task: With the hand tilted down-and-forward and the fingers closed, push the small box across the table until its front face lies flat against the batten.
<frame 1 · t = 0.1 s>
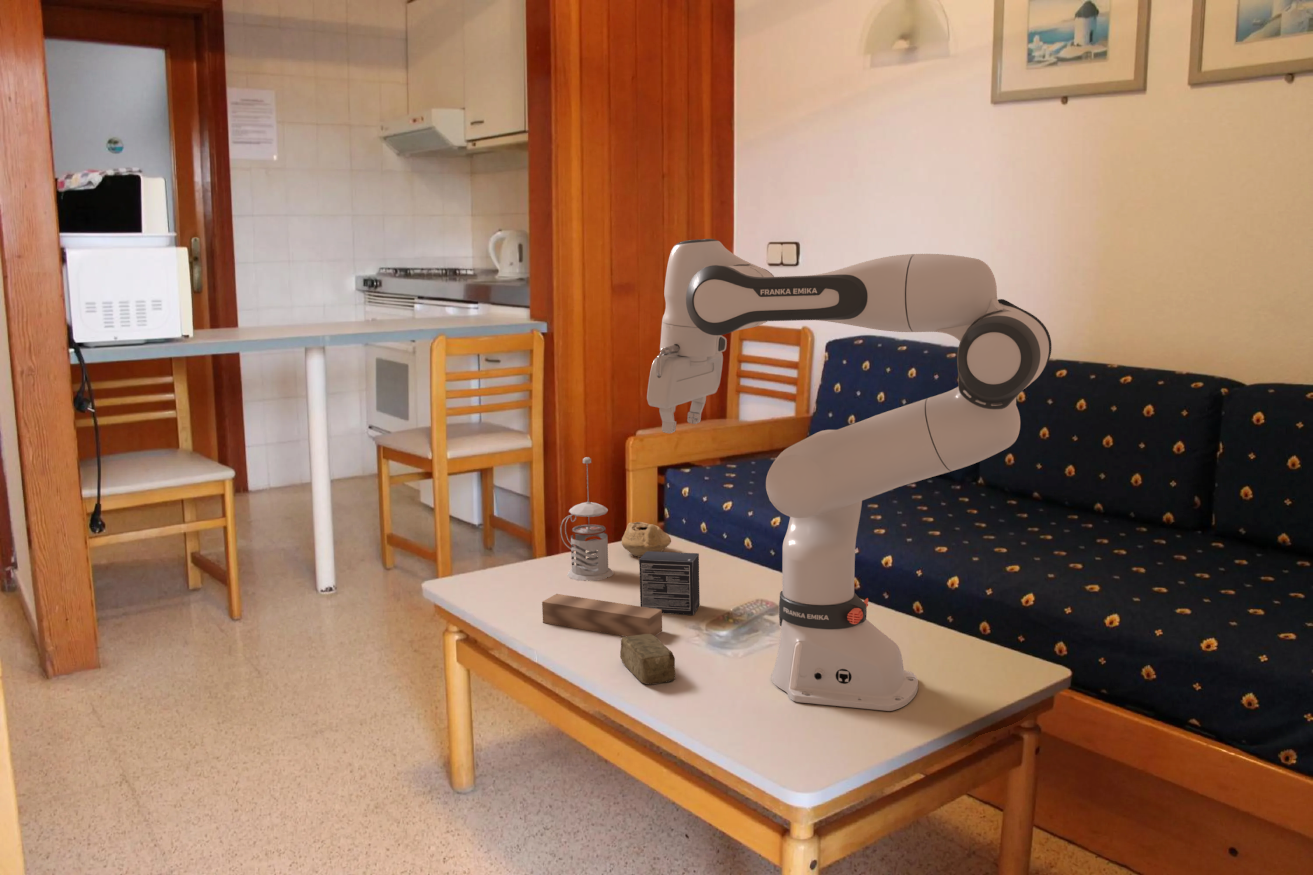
hand: (681, 427, 173), 39 cm above the table, tool pointing down, fingers open, 8 cm apart
french press: (586, 573, 227), on the table
oil lamp: (642, 553, 241), on the table
batten: (601, 626, 195), on the table
stone block: (647, 673, 174), on the table
small box: (670, 609, 204), on the table
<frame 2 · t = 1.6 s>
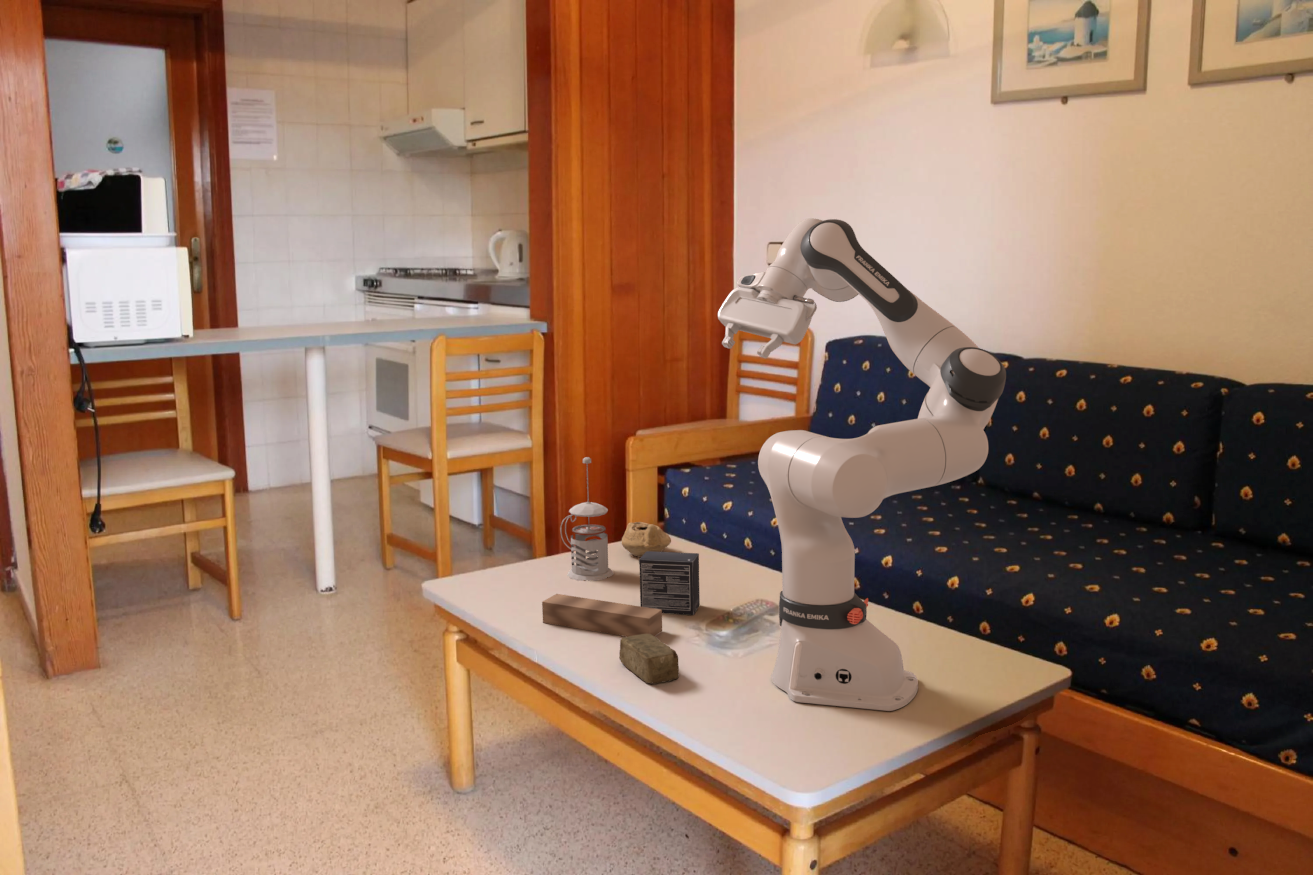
hand: (743, 351, 205), 48 cm above the table, tool tilted 40°, fingers open, 8 cm apart
nothing on the table moved.
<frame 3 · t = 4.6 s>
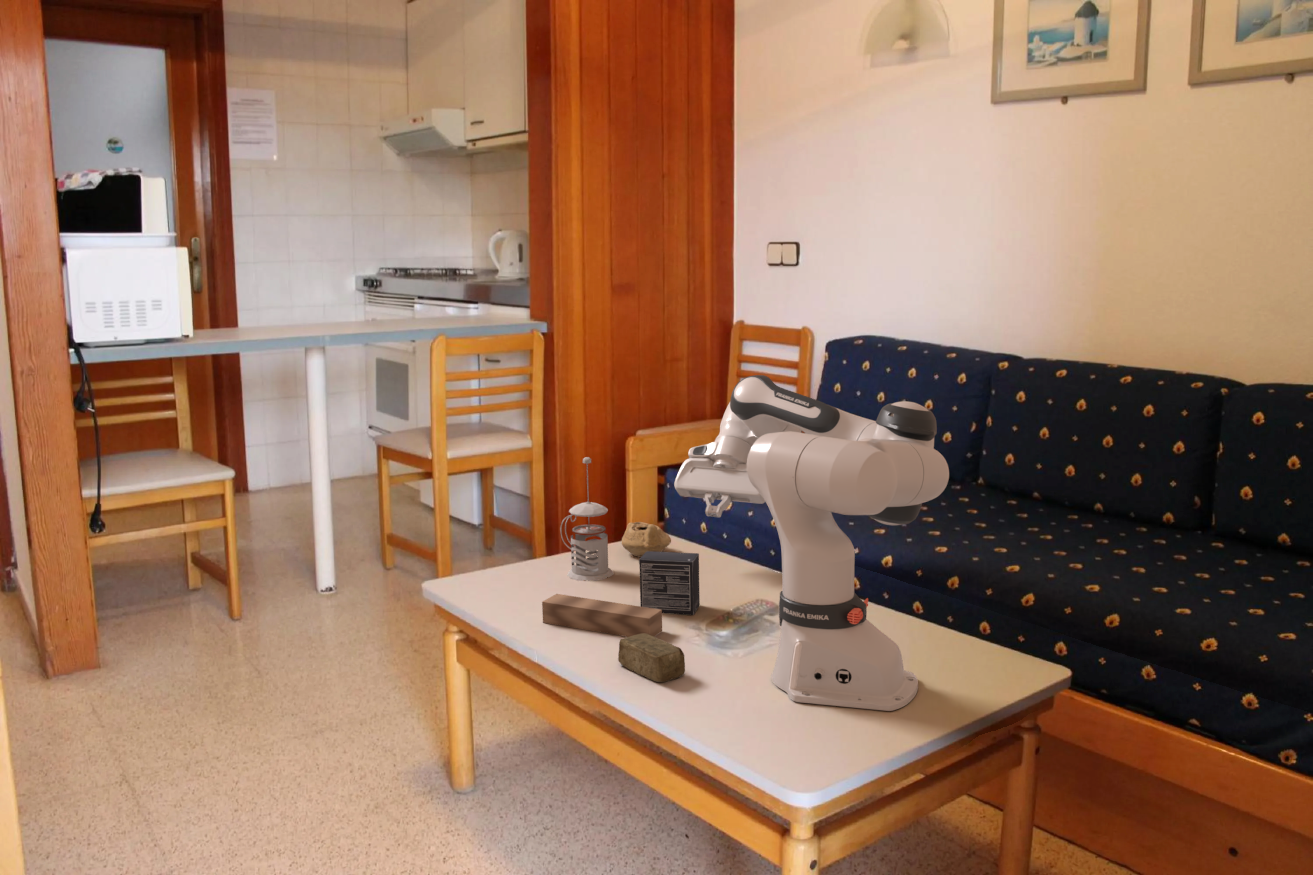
hand: (712, 515, 219), 13 cm above the table, tool tilted 45°, fingers closed
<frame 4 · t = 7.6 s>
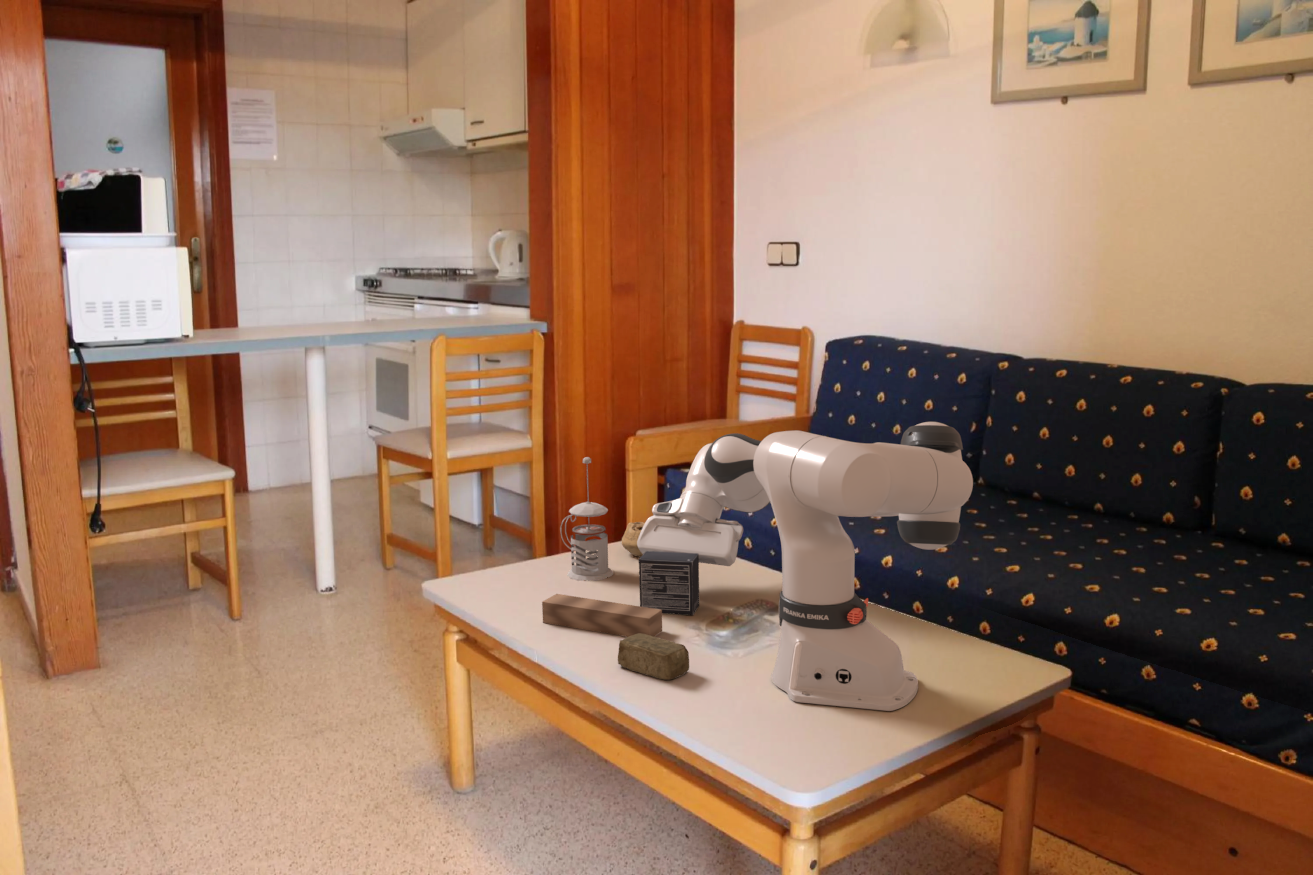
hand: (676, 578, 207), 5 cm above the table, tool tilted 45°, fingers closed
small box: (670, 609, 204), on the table, touching gripper
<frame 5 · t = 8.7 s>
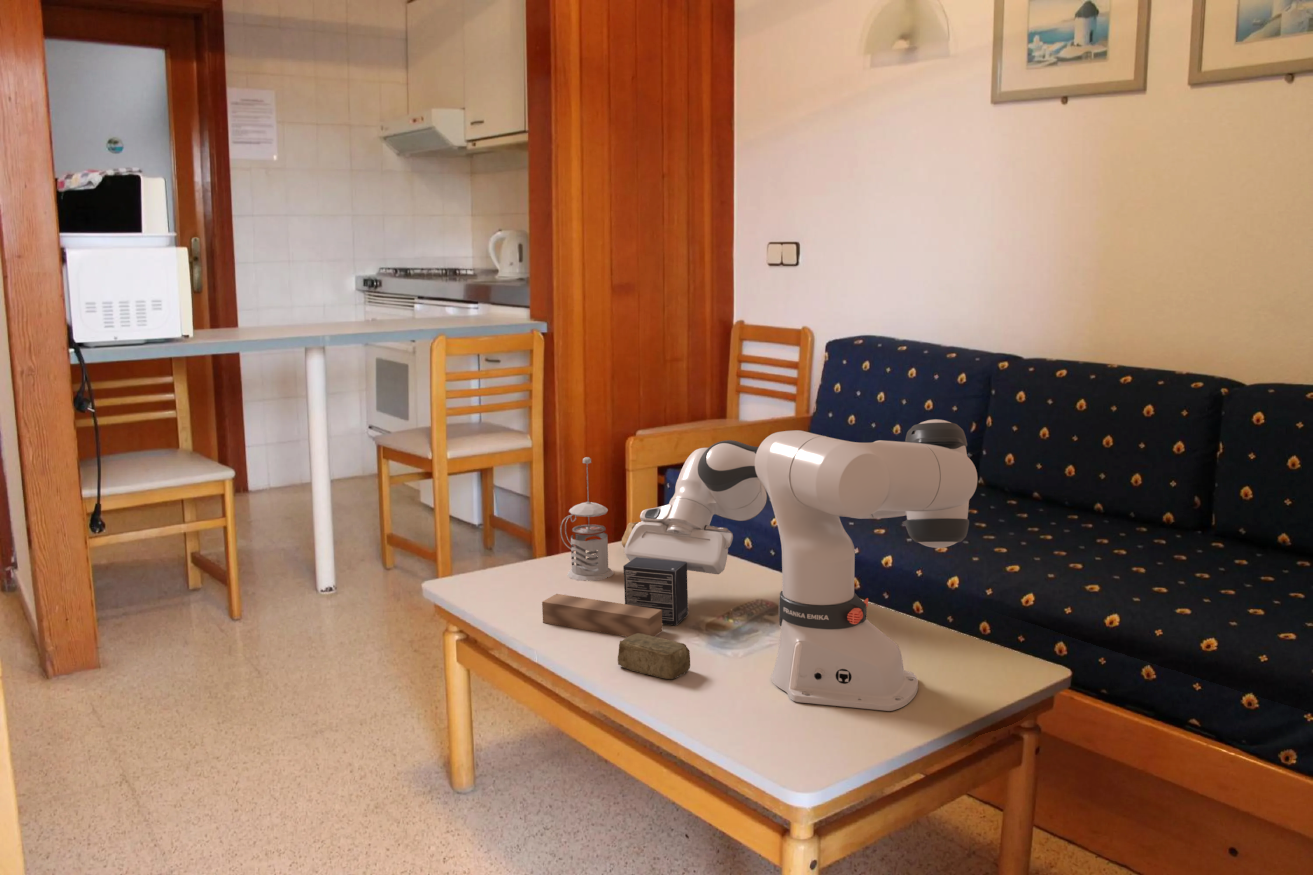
hand: (664, 586, 201), 5 cm above the table, tool tilted 45°, fingers closed, pressing on small box
small box: (657, 618, 199), on the table, touching gripper
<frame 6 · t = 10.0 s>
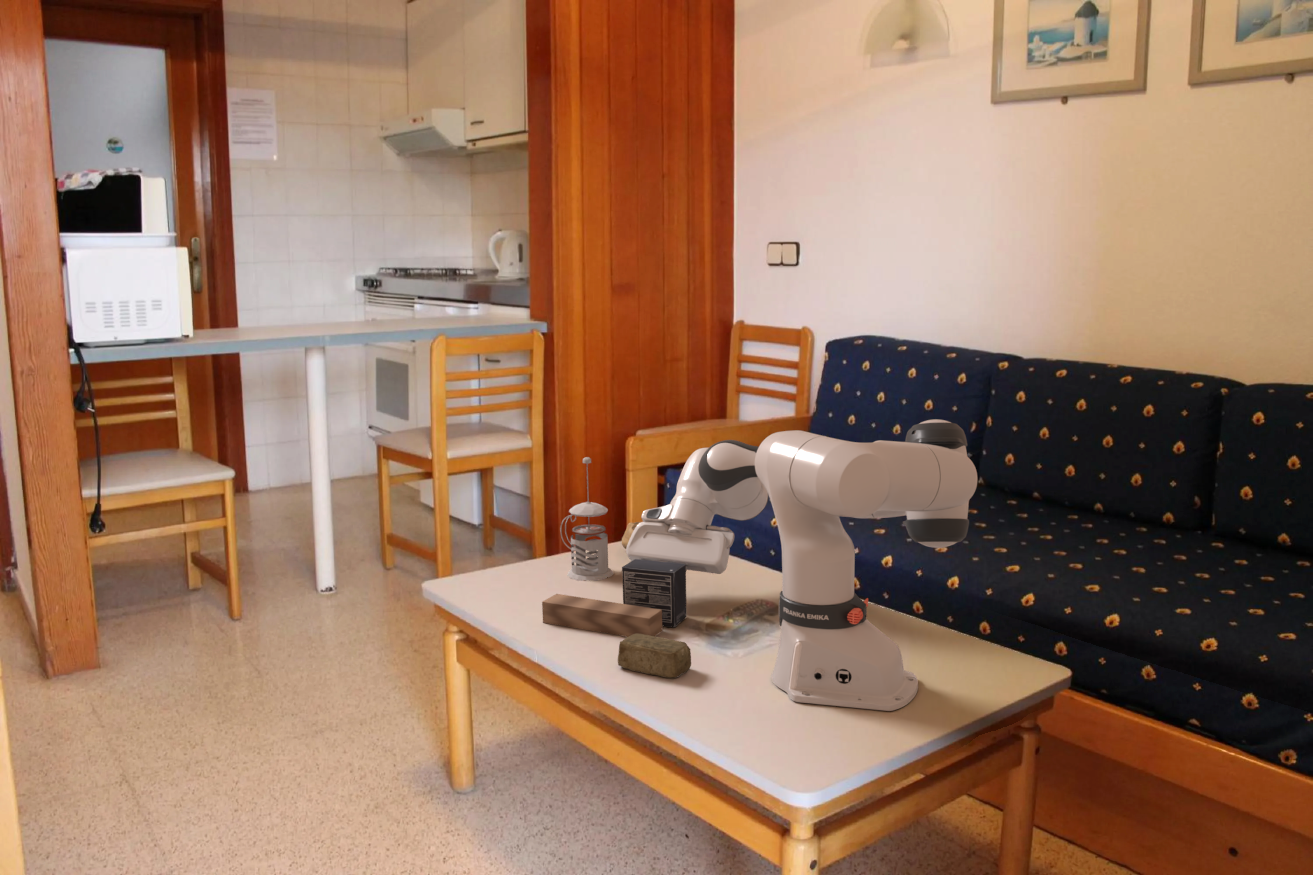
hand: (666, 586, 202), 5 cm above the table, tool tilted 45°, fingers closed
small box: (655, 620, 198), on the table
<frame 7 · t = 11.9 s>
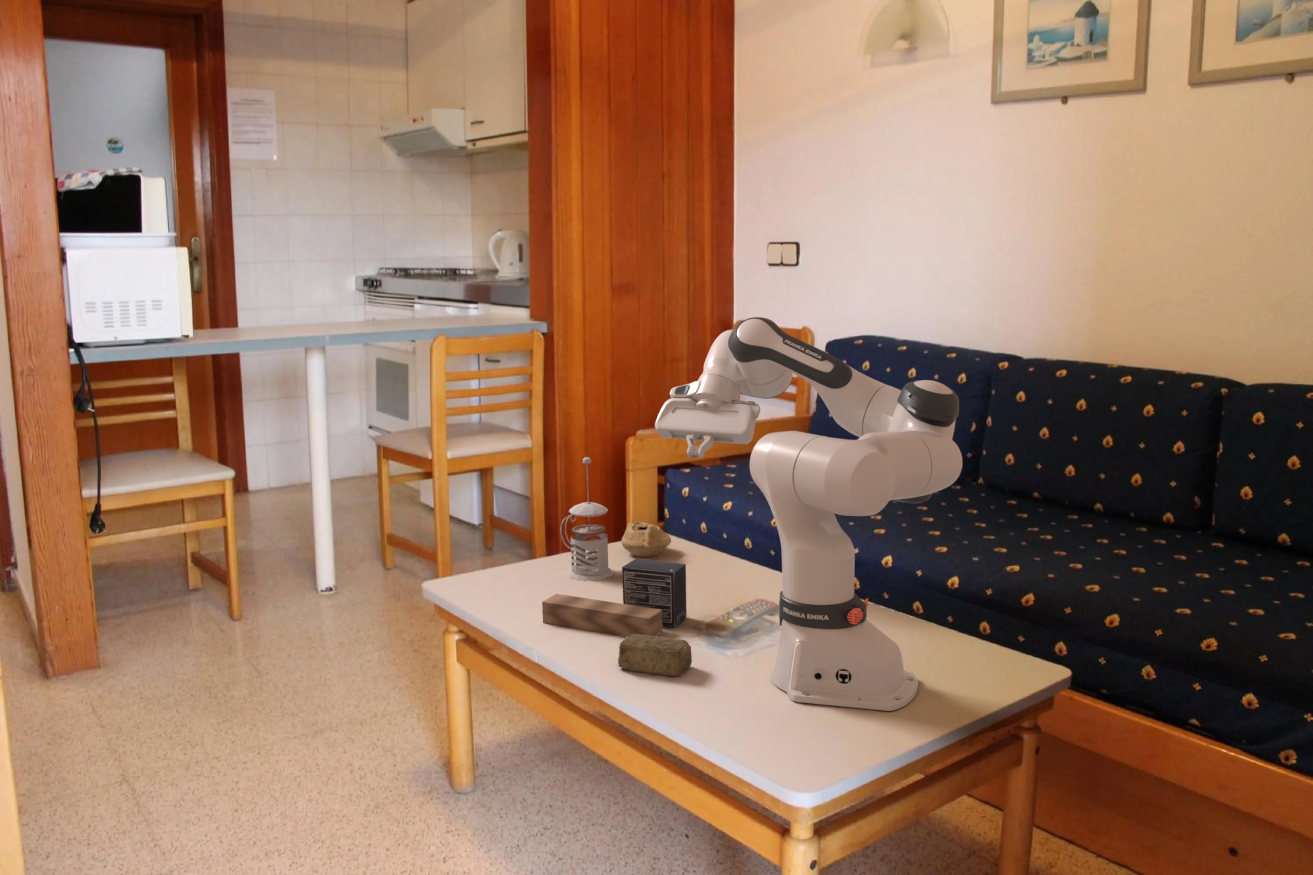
hand: (694, 456, 209), 27 cm above the table, tool tilted 45°, fingers closed
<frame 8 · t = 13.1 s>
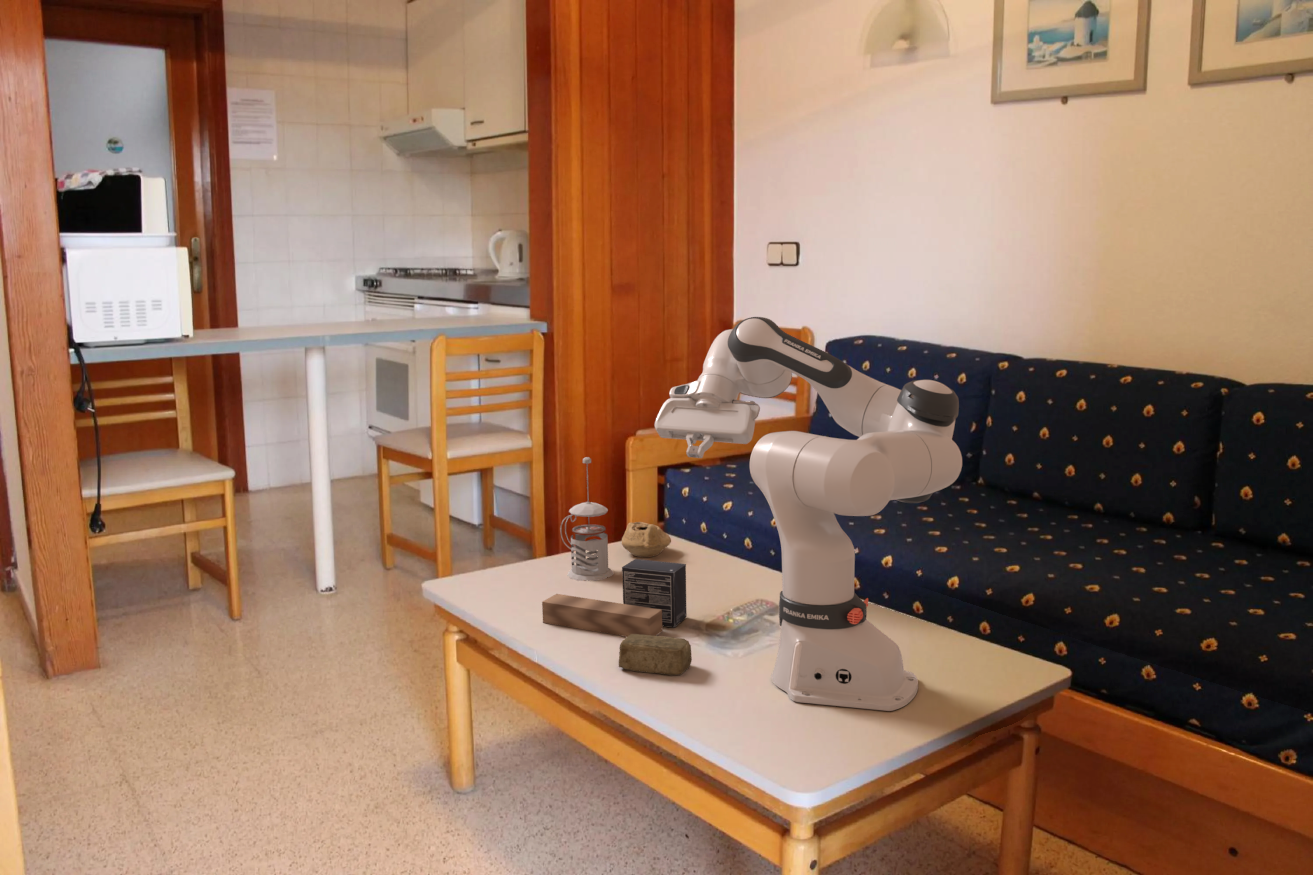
hand: (693, 456, 209), 27 cm above the table, tool tilted 45°, fingers closed
at the end: small box 0.6 cm from the target spot on the table beside the batten, on the table; small box tilted 0° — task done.
